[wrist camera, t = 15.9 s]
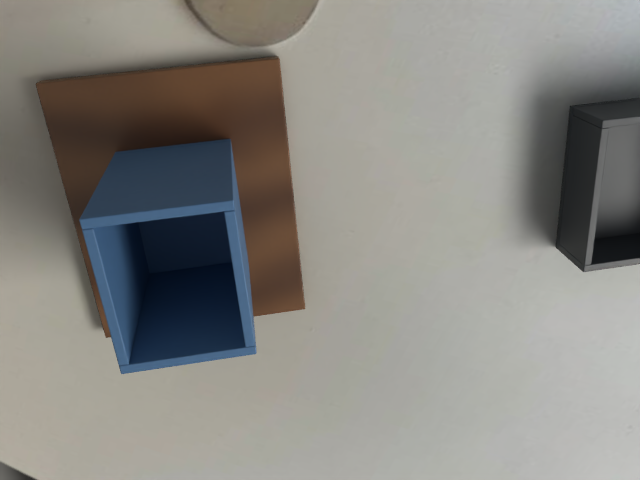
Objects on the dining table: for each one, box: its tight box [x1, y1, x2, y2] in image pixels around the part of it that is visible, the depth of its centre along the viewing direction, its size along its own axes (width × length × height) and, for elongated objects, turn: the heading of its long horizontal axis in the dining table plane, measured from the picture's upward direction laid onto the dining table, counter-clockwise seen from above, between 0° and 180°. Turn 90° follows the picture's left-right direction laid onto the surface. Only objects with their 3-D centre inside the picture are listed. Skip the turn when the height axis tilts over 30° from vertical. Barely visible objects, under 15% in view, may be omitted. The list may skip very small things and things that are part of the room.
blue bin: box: [79, 139, 256, 374], centre depth 39 cm, size 10×8×12 cm
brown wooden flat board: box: [36, 56, 305, 338], centre depth 45 cm, size 20×16×1 cm
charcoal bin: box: [556, 98, 640, 272], centre depth 48 cm, size 12×10×4 cm
